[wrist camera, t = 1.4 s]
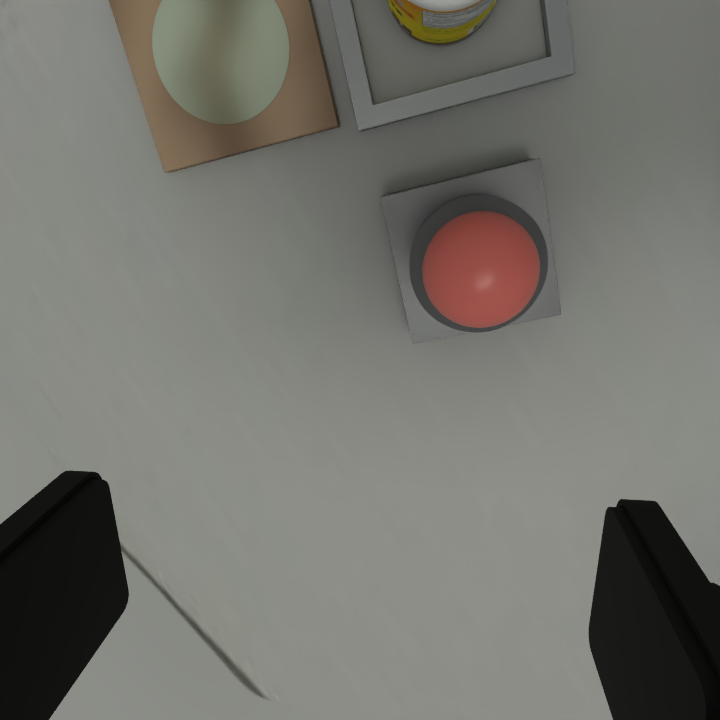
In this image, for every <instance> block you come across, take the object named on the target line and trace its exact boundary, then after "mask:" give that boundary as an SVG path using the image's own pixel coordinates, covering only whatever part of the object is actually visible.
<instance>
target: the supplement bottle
mask: <svg viewBox="0 0 720 720" xmlns="http://www.w3.org/2000/svg"><path fill="white" fill-rule="evenodd" d="M496 2H497V0H388V4H389V7H390V9H391V12H392V14H393V16H394V18H395V20H396V21H397V23H398V24H399V25H400V27H401V28H402V29H403V30H404V31H405V32H406V33H407V34H408V35H410V36H411V37H412V38H414V39H416V40H418V41H420V42H422V43H425V44H429V45H438V46H441V45H449V44H453V43H456V42H459V41H461V40H464V39H465V38H467V37H469V36H470V35H472V34H473V33H474V32H475V31H476V30H478V29H479V28H480V27H481V25H482V24H483V23H484V22H485V21H486V20H487V18H488V17H489V15H490V13H491V12H492V10H493V8H494V6H495V4H496Z"/></svg>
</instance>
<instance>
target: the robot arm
mask: <svg viewBox="0 0 720 720" xmlns="http://www.w3.org/2000/svg"><path fill="white" fill-rule="evenodd" d="M128 596H129V592H128V585H127V580H126V574H125V569H124V563H123V558H122V553H121V547H120V542H119V536H118V531H117V526H116V520H115V515H114V510H113V504H112V499H111V493H110V488H109V485H108V483H107V481H105V480H102V478H101V476H100V475H99V474H98V473H96V472H85V471H65V472H63V473H62V474H60V475H59V476H58V477H57V478H56V479H54V480H53V481H52V482H51V483H50V484H48V486H46V487H45V488H44V489H42V490H41V491H40V492H39V493H38V494H36V495H35V496H34V497H33V498H32V499H30V500H29V501H28V502H27V503H26V504H24V505H23V506H22V507H21V508H20V509H18V510H17V511H16V512H15V513H14V514H12V515H11V516H10V517H9V518H7V519H6V520H5V521H4V522H3V523H2V524H0V720H49V719H50V717H51V716H52V714H53V713H54V711H55V710H56V709H57V707H58V706H59V704H60V703H61V701H62V700H63V698H64V697H65V696H66V694H67V693H68V691H69V690H70V688H71V687H72V685H73V684H74V682H75V681H76V680H77V678H78V677H79V675H80V674H81V672H82V671H83V670H84V668H85V667H86V665H87V664H88V662H89V661H90V660H91V658H92V657H93V655H94V653H95V652H96V651H97V649H98V648H99V646H100V645H101V643H102V642H103V641H104V639H105V638H106V636H107V635H108V633H109V632H110V631H111V629H112V628H113V626H114V625H115V623H116V622H117V620H118V619H119V618H120V616H121V615H122V613H123V612H124V610H125V608H126V605H127V602H128ZM589 643H590V648H591V652H592V655H593V658H594V661H595V665H596V668H597V671H598V674H599V677H600V680H601V683H602V686H603V689H604V693H605V696H606V699H607V702H608V705H609V708H610V711H611V714H612V717H613V720H720V586H719V585H717V584H715V583H710V582H709V580H708V579H707V577H706V576H705V574H704V572H703V571H702V569H701V568H700V566H699V565H698V563H697V562H696V560H695V559H694V557H693V556H692V554H691V553H690V551H689V550H688V548H687V547H686V545H685V544H684V542H683V541H682V539H681V538H680V536H679V534H678V533H677V531H676V530H675V528H674V527H673V525H672V524H671V522H670V521H669V519H668V518H667V516H666V515H665V513H664V512H663V510H662V509H661V507H660V506H659V504H658V503H657V502H655V501H645V500H626V499H621V500H619V501H618V503H617V506H616V507H608V508H607V510H606V514H605V520H604V527H603V533H602V540H601V547H600V554H599V561H598V568H597V575H596V582H595V588H594V595H593V602H592V609H591V616H590V623H589Z"/></svg>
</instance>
